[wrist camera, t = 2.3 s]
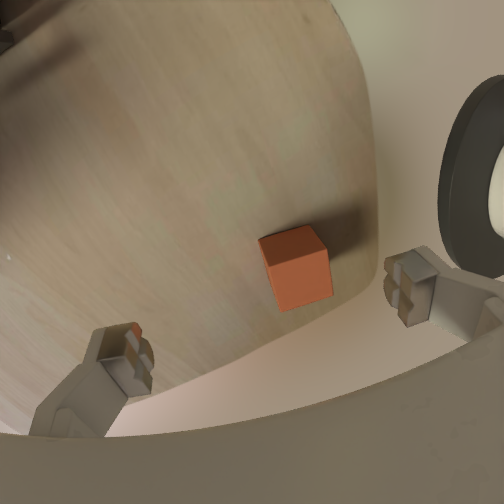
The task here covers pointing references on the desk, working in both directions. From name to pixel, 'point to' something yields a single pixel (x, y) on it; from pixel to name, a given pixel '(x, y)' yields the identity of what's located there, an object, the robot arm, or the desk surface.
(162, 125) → the desk surface
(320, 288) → the block
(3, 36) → the drawer
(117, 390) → the robot arm
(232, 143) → the desk surface
